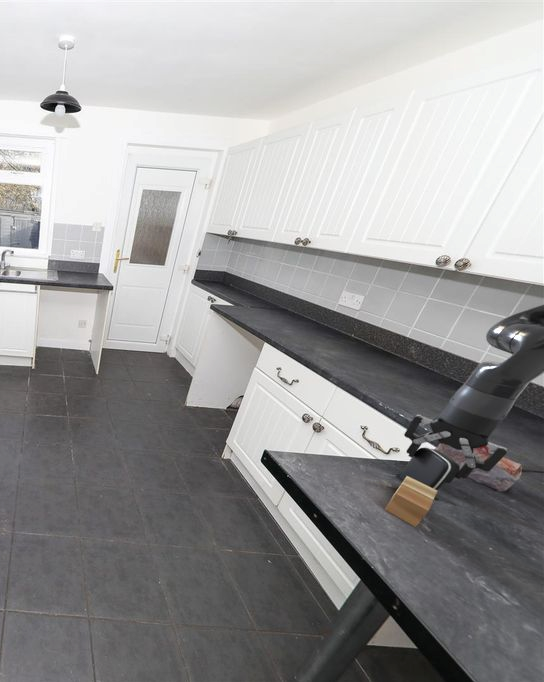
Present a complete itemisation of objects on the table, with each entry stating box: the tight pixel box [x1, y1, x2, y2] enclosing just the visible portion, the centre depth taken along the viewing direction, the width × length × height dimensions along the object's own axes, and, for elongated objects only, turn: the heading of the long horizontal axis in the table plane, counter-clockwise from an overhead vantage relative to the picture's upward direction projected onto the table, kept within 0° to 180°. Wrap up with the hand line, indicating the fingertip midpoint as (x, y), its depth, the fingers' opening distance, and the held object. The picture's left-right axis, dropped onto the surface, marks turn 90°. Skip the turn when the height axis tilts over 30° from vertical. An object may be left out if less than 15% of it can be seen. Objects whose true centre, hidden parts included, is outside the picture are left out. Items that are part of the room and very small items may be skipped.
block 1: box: [390, 476, 438, 502], centre depth 77 cm, size 5×5×5 cm
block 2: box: [384, 484, 434, 528], centre depth 73 cm, size 5×5×5 cm
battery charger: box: [398, 447, 459, 491], centre depth 79 cm, size 7×4×11 cm, turn 172°
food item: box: [434, 442, 523, 492], centre depth 87 cm, size 14×8×10 cm, turn 31°
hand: (433, 465), depth 79 cm, fingers closed on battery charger, 7 cm apart
